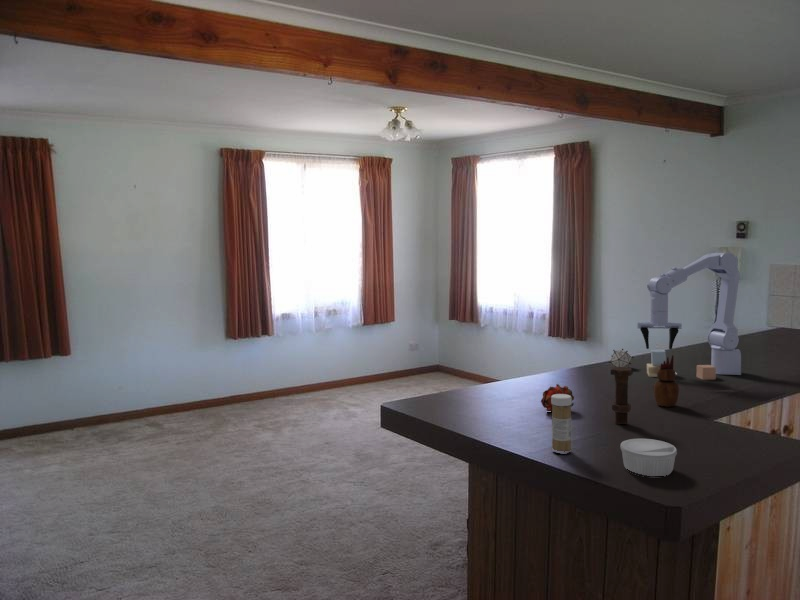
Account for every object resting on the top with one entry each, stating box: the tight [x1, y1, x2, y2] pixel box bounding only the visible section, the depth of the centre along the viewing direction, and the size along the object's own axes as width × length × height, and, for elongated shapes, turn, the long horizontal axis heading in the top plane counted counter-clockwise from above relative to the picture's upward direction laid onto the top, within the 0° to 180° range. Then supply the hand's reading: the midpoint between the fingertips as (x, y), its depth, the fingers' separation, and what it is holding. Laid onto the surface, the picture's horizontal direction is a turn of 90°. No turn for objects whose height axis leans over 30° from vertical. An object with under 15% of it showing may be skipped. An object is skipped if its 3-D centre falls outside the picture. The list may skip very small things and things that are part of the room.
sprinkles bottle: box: [551, 394, 573, 452], centre depth 145 cm, size 5×5×14 cm
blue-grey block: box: [650, 349, 667, 366], centre depth 225 cm, size 4×4×5 cm
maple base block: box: [646, 363, 660, 378], centre depth 224 cm, size 7×7×4 cm
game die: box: [607, 348, 635, 368], centre depth 238 cm, size 9×8×10 cm
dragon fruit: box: [540, 383, 575, 412], centre depth 181 cm, size 8×8×12 cm
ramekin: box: [620, 438, 678, 477], centre depth 133 cm, size 11×11×5 cm
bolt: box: [610, 366, 633, 425], centre depth 167 cm, size 6×5×15 cm
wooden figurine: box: [653, 355, 680, 408], centre depth 184 cm, size 7×6×15 cm
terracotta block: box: [696, 364, 717, 380], centre depth 217 cm, size 4×4×5 cm
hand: (658, 348), depth 223 cm, fingers open, 7 cm apart
